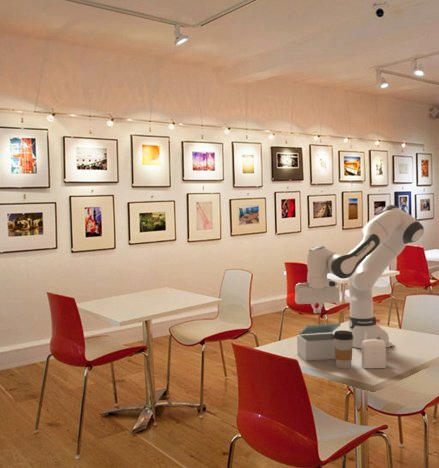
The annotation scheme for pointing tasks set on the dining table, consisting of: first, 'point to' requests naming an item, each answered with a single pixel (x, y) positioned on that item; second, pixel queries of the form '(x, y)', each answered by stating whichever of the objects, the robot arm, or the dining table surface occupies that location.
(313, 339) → the white box
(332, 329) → the cover
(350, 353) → the coffee cup
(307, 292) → the robot arm
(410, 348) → the dining table surface
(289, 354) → the dining table surface
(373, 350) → the photo printer
